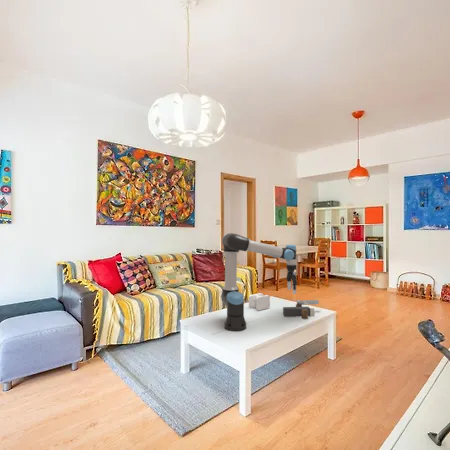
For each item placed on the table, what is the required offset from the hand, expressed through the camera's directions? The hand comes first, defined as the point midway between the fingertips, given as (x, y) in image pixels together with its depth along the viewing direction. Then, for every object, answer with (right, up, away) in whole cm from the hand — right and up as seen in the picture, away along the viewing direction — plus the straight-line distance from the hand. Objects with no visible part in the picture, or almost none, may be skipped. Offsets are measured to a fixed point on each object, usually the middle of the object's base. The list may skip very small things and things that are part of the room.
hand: (291, 291), depth 222 cm
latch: (+15, -12, +8) cm, 21 cm away
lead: (+5, -19, 0) cm, 19 cm away
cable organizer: (-23, -19, +19) cm, 35 cm away
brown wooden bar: (+8, -19, 0) cm, 20 cm away
